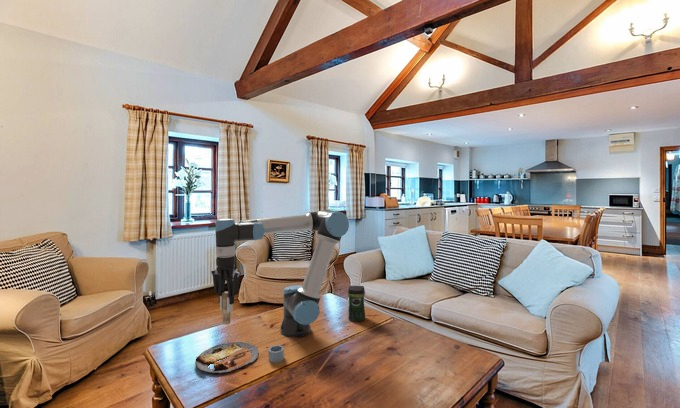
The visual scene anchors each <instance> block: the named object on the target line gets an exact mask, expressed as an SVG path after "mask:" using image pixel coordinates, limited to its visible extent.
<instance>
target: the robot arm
mask: <svg viewBox="0 0 680 408" xmlns="http://www.w3.org/2000/svg"><path fill="white" fill-rule="evenodd" d="M349 228H350V220H349V219H348V216H346V214H344V213H343V212H341V211H339V210H332V209H331V210H330V209H323V210H322V209H321V210H317V211H311V212H309V211H308V212H307V213H306V214H300V215H290V216H281V217H280V216H277V217H266V218H258V219H257V218H255V219H241V220H240V221H238V222H235V219H234V218H220V219H217V220H216V221H215V255H216V257H215V265H216V266H217V267H216V269H213V270H211V272H210V273H211V275H212V280H213V282H212V283H213V291H214V294H216V295H217V296H218V303H219V311H220V312H222V313H223V302H222V293H223V292H225V287H226V286H227V292H228V295H229V296H227V313H229V312H230V313H231V312H233V311H234V303H235V296H237V295H238V294H239V286H240V276H241V275H242V274H241V271H237V270H236V267H235V265H236V256H235V255H236V242H241V241H258V240H263V239H264V236H265V235H268V234H269V235H270V234H279V233H287V232H296V231H297V232H298V231H305V230H307V231H309V232H317V233H316V235H317V237H318V239H317V242H316V245H315V248H314V249H313V254H312V257H311V260H310V262H309V265H308V268H307V271H306V273H305V277H304V280H303V283H302V285H300V284H298V285H297V284H296V285H290V286H287V287H284V288H283V292H282V294H283V296H282V297H283V318H282V321H281V325H280V333H279V334H280V335H283V336H285V337H288V338H289V337H290V338H293V337H294V338H303V337H305V336H308V335H309V334H310V333H311V324H313V323H314V322H315V321H317V319H318V317H319V316H320V312H321V311H320V306H319V305H320V304H319V303H320V300H321V295H320V291H321V288H322V287H321V286H322V285H323V282H324V279H325V276H326V273H327V271H328V270H327V269H328V267H329V265H330V261H331V259H332V255H333V253H334V250H335V247H336V244H339V243H340V242H341V239H342V237H343V236H345V235H346V234H347V233H348V231H349Z"/></svg>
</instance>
